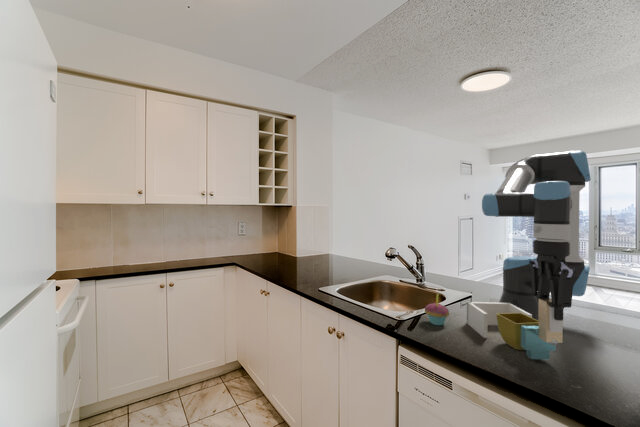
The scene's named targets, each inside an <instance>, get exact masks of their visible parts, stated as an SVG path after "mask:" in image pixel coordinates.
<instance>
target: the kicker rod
mask: <svg viewBox="0 0 640 427" xmlns="http://www.w3.org/2000/svg"><path fill="white" fill-rule="evenodd" d="M549 304H550V305H552V300H551V298H550V299H539V308H538V319H537V320H538V326H521V347H522V348H524V349H525V350H526V352H525V355H526V356H527V357H528V358H529V359H531V360H550V359H551V352H554V351H555V352H556V351H557V347H556V346H557V345H558V343H559V344H561V343H563V337H564V336H563V332H564V331H563V330H564V329H563V326H564V325H563V324H564V322H563V321H564V320H563V321H562V332H550V331H549ZM525 350H524V351H525ZM550 361H551V360H550Z"/></svg>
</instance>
